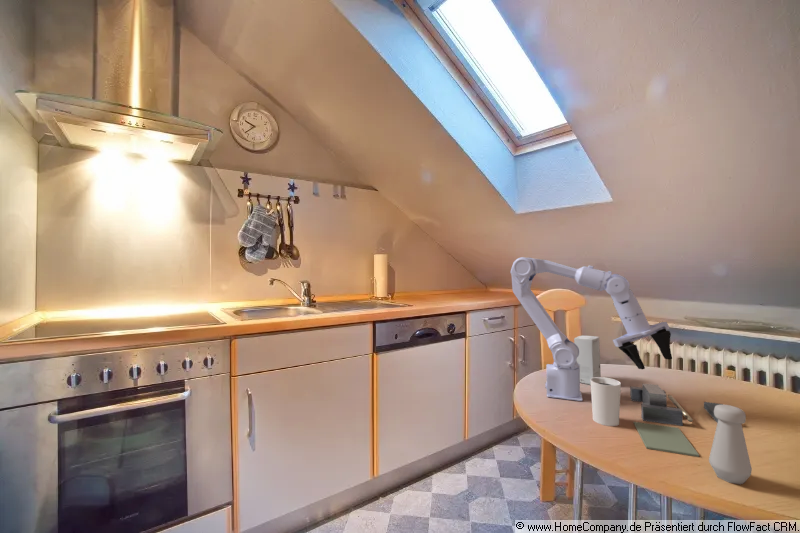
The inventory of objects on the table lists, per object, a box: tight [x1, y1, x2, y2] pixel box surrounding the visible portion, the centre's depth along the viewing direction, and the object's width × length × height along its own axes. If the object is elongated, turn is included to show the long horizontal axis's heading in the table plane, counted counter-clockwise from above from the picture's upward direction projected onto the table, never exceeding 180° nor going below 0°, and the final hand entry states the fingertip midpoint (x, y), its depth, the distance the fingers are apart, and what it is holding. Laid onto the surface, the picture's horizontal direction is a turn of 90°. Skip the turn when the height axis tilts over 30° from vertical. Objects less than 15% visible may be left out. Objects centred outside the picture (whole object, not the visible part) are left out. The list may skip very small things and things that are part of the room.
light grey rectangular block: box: [641, 383, 668, 407], centre depth 95 cm, size 4×8×6 cm, turn 157°
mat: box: [633, 421, 700, 458], centre depth 80 cm, size 9×13×1 cm
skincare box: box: [573, 334, 602, 386], centre depth 119 cm, size 8×6×15 cm
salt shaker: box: [708, 404, 752, 485], centre depth 65 cm, size 6×6×13 cm
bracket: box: [703, 401, 724, 423], centre depth 91 cm, size 4×11×2 cm, turn 154°
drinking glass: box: [590, 376, 622, 427], centre depth 89 cm, size 7×7×10 cm
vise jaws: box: [629, 386, 694, 427], centre depth 94 cm, size 10×16×4 cm, turn 157°
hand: (655, 363), depth 95 cm, fingers open, 7 cm apart
